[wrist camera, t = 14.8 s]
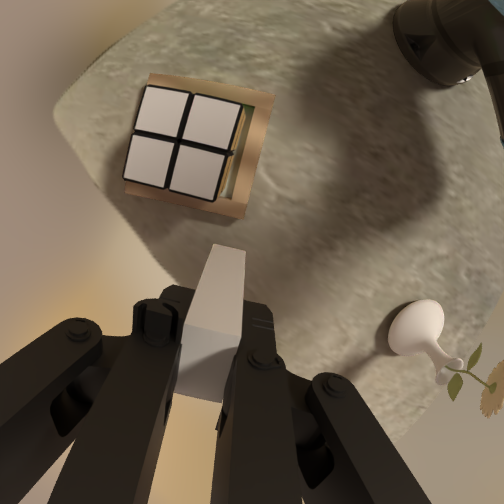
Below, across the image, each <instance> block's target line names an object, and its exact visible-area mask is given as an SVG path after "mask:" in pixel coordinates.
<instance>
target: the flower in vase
mask: <svg viewBox="0 0 504 504" xmlns="http://www.w3.org/2000/svg"><path fill="white" fill-rule="evenodd" d="M443 325H444V313H443V310H442V307H441V306H440V304H439V303H437V302H436V301H434V300H430V299H424V300H418V301H415V302H413V303H411V304H409V305H408V306H406V307H405V308H404V309H403V310H401V311H400V312H399V314H398V315H397V316H396V317H395V319H394V320H393V322H392V324H391V327H390V330H389V334H388V343H389V346H390V348H391V349H392V350H393V351H394V352H395V353H397V354H399V355H402V356H413V355H418V354H420V353H422V352H424V351H425V352H426V353H427V354H428V355H429V356H430V358H431V360H432V361H433V363H434V365H435V368H436V379H435V380H436V383H437V384H438V385H445V384H447V383H448V393H449V395H450V398H451V399H452V400H453V401H454V400H455V398H456V396H457V394H458V392H459V390H460V389H461V387H462V384H463V380H462V378H461V376H460V374H459V373H460V372H462V373H467V374H470V375H471V376H472V377H474V378H475V379H476V380H478V381H479V382H480V383H482V384H483V385H485V389H484V390H483V392H482V399H481V405H480V410H482V414H485V417H486V416H487V418H490V416H491V414H492V412H493V410H494V413H495V415H496V414H498V412H499V410H500V409H502V407H503V401H504V360H503V361H502V362H500V363H498V365H497V367H496V368H494V369H493V371H492V374H490V375H489V377H488V381H487V382H486V383H484V382H483V381H481V380H480V379H479V378H477V377H476V376H475V375H473V374H472V373H470V372H469V371H468V370H470V369H471V368H472V367H473V366H475V364H476V363H477V362H478V360H479V358H480V355H481V351H482V343H481V344H480V345H479V347H478V348H477V350H476V351H475V352H474V353H473V354H472V355H471V357H470V359H469V361H468V366H467V371H465V370H462V367H463V360H462V359H460V358H452V357H450V356H449V355H447V354H446V353H445V352H444V351H443V350H442V349H441V348H440V346H439V345H438V343H437V339H438V338H439V336H440V334H441V331H442V329H443Z"/></svg>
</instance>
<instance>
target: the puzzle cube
mask: <svg viewBox="0 0 504 504" xmlns="http://www.w3.org/2000/svg"><path fill="white" fill-rule="evenodd" d="M245 117H246V116H245V111H244V106H243V105H242V103H240V102H236V101H232V100H228V99H224V98H220V97H215V96H211V95H206V94H202V93H195V94H193V93H192V92H191V91H187V90H181V89H176V88H170V87H164V86H158V85H152V84H148V85H147V86H145V88H144V92H143V95H142V98H141V102H140V105H139V109H138V112H137V116H136V120H135V123H134V127H133V129H134V131H135V132H134V133H133V134H131V138H130V143H129V147H128V151H127V156H126V160H125V165H124V170H123V175H122V177H123V179H124V180H125V181H129V182H133V183H137V184H141V185H145V186H149V187H153V188H157V189H161V190H165V189H167V188H168V190H169V192H173V193H177V194H181V195H184V196H188V197H192V198H196V199H199V200H203V201H207V202H211V203H213V202H215V201H216V200H217V199H218V197H219V196H220V194H221V193H222V192H223V190H224V189H225V186H226V182H227V179H228V175H229V172H230V168H231V165H232V161H233V158H234V153H233V152H232V151H234V150H236V148H237V144H238V141H239V137H240V134H241V131H242V127H243V124H244V121H245Z"/></svg>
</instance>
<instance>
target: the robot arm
mask: <svg viewBox="0 0 504 504" xmlns="http://www.w3.org/2000/svg"><path fill="white" fill-rule="evenodd" d="M393 29H394V34H395V38H396V41H397V43H398V46H399V48H400V49H401V51H402V53H403V55H404V56H405V58H406V59H407V60H408V62H409V63H410V64H411V65H412V66H413V67H414V68H415V69H416V70H417V71H418V72H419V73H420V74H421V75H423V76H424V77H425V78H427V79H429V80H430V81H432V82H434V83H437V84H440V85H444V86H453V85H458V84H462V83H465V82H467V81H468V80H470V79H471V78H472V77H473V75H475V74H476V73H477V72H478V71H479V70H480V69H481V68H482V70H483V73H484V76H485V79H486V82H487V85H488V88H489V92H490V95H491V99H492V102H493V106H494V110H495V114H496V118H497V122H498V126H499V131H500V135H501V136H500V141H501V144H502V146H503V147H504V0H407V1H406V2H405V3H403V4H402V5H401V6H400V7H399V8H398V9H397V10H396V12H395V15H394V19H393ZM245 258H246V251H243V250H239V249H235V248H231V247H226V246H222V245H218V244H213V246H212V249H211V252H210V254H209V257H208V260H207V262H206V265H205V267H204V270H203V273H202V275H201V278H200V281H199V284H198V286H197V289H196V290H193V289H189V288H185V287H181V286H177V285H171V286H169V287H167V288H165V289H164V290H163V292H162V293H161V295H160V298H159V299H156V298H155V299H144V300H141V301H138V302H137V303H136V304H135V305H134V307H133V326H132V333H131V335H129V336H122V337H121V336H105V335H102V331H101V329H100V327H99V325H97V324H96V323H95V322H94V321H91V320H88V319H86V318H70V319H67V320H65V321H63V322H61V323H59V324H58V325H56V326H55V327H53V328H52V329H50V330H49V331H47V332H46V333H44V334H43V335H41V336H40V337H38V338H37V339H35V340H34V341H33V342H31V343H30V344H28V345H27V346H25V347H24V348H22V349H21V350H20V351H18V352H17V353H15V354H14V355H13V356H11V357H10V358H8V359H7V360H5V361H4V362H3V363H1V364H0V504H18V503H19V502H20V501H21V500H22V499H23V497H24V496H25V495H26V494H27V493H28V492H29V490H30V489H31V488H32V487H33V486H34V485H35V484H36V483H37V481H38V480H39V479H40V478H41V477H42V476H43V475H44V474H45V473H46V471H47V470H48V469H49V468H50V467H51V466H52V465H53V463H54V462H55V461H56V460H57V459H58V458H59V457H60V456H61V455H62V453H63V452H64V451H65V450H66V449H67V448H68V447H69V446H70V444H71V443H72V442H73V441H74V440H75V442H74V444H73V446H72V448H71V450H70V453H69V454H68V457H67V459H66V461H65V463H64V465H63V468H62V470H61V472H60V474H59V477H58V479H57V481H56V484H55V486H54V489H53V491H52V493H51V496H50V498H49V501H48V503H47V504H147V503H148V498H149V494H150V490H151V485H152V481H153V477H154V472H155V469H156V464H157V460H158V456H159V452H160V448H161V444H162V440H163V436H164V432H165V428H166V425H167V421H168V417H169V413H170V409H171V406H172V397H173V393H177V394H181V395H186V396H190V397H194V398H199V399H204V400H208V401H213V402H219V403H222V400H223V406H222V409H221V412H220V415H219V419H218V422H217V425H216V428H215V430H218V433H217V442H216V453H215V461H214V472H213V481H212V492H211V501H210V502H211V503H210V504H302V498H303V500H304V503H305V504H431V502H430V500H429V499H428V498H427V496H426V494H425V493H424V491H423V490H422V488H421V487H420V485H419V483H418V482H417V480H416V479H415V477H414V476H413V474H412V473H411V471H410V470H409V468H408V467H407V465H406V463H405V462H404V460H403V459H402V457H401V456H400V454H399V453H398V451H397V450H396V448H395V447H394V445H393V444H392V442H391V441H390V439H389V438H388V436H387V435H386V433H385V432H384V430H383V428H382V427H381V425H380V424H379V422H378V421H377V419H376V418H375V416H374V415H373V413H372V412H371V410H370V409H369V407H368V406H367V404H366V403H365V401H364V400H363V398H362V397H361V395H360V394H359V392H358V391H357V389H356V388H355V386H354V385H353V384H352V383H351V382H350V381H349V380H348V379H346V378H344V377H343V376H341V375H338V374H335V373H328V372H324V373H320V374H318V375H316V376H315V377H314V378H313V380H312V381H310V380H307V379H305V378H302V377H299V376H297V375H295V374H293V373H291V372H289V371H288V370H286V366H285V363H284V361H283V359H282V358H281V357H280V356H279V355H278V354H277V350H276V341H275V332H274V324H273V315H272V312H271V311H270V309H269V308H268V307H267V305H264V304H259V303H255V302H250V301H246V300H243V294H244V276H245ZM301 495H302V496H301Z"/></svg>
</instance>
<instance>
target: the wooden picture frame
mask: <svg viewBox="0 0 504 504" xmlns="http://www.w3.org/2000/svg"><path fill="white" fill-rule="evenodd" d="M148 84H152V85H158V86H164V87H170V88H176V89H181V90H187V91H191V92H192V93H193V94H195V93H202V94H206V95H211V96H215V97H220V98H224V99H228V100H232V101H236V102H240V103H242V105H243V106H244V111H245V116H246V117H245V121H244V124H243V127H242V131H241V134H240V137H239V141H238V144H237V148H236V150H234V151H232V152H233V153H234V158H233V161H232V165H231V168H230V172H229V175H228V179H227V182H226V186H225V189H224V190H223V192H222V193H221V194H220V196H219V197H218V199H217V200H216V201H215V202H213V203H211V202H207V201H203V200H199V199H196V198H192V197H188V196H184V195H181V194H177V193H173V192H169V190H168V188H167V189H165V190H161V189H157V188H153V187H149V186H145V185H141V184H137V183H133V182H129V181H126V185H125V192H124V193H127V194H132V195H136V196H141V197H146V198H151V199H155V200H160V201H164V202H169V203H173V204H178V205H182V206H187V207H191V208H196V209H200V210H205V211H209V212H213V213H217V214H222V215H226V216H230V217H234V218H239V219H244V215H245V211H246V207H247V203H248V199H249V195H250V191H251V187H252V183H253V180H254V176H255V172H256V168H257V164H258V160H259V156H260V152H261V149H262V145H263V141H264V137H265V133H266V129H267V126H268V122H269V118H270V114H271V111H272V107H273V103H274V99H275V96H276V95H273V94H269V93H265V92H261V91H256V90H252V89H248V88H243V87H238V86H234V85H228V84H223V83H218V82H212V81H206V80H200V79H194V78H187V77H180V76H172V75H163V74H153V73H150V75H149V79H148V82H147V85H148Z"/></svg>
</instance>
